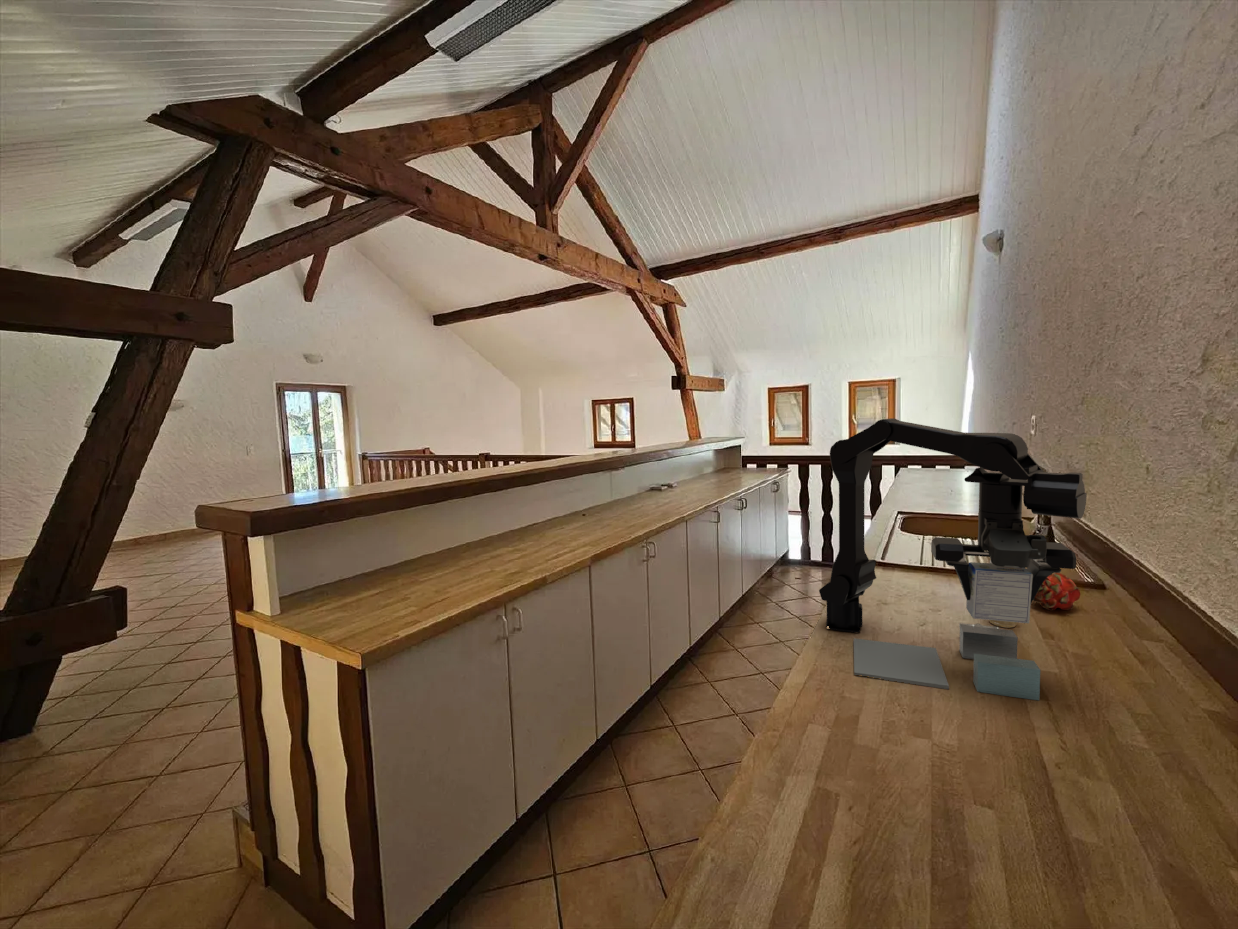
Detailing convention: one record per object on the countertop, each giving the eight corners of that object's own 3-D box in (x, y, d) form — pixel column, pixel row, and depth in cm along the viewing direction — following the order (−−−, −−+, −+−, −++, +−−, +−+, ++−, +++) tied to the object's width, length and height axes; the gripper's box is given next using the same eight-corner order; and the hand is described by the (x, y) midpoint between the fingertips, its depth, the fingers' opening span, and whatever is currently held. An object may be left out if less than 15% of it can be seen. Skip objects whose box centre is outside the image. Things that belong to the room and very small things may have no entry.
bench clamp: (977, 691, 83) (978, 662, 83) (953, 636, 102) (953, 611, 102) (1039, 700, 80) (1040, 669, 79) (1002, 641, 99) (1002, 616, 99)
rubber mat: (854, 675, 90) (854, 672, 90) (853, 641, 103) (853, 638, 102) (948, 689, 84) (948, 686, 84) (935, 651, 97) (935, 648, 97)
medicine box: (1019, 614, 88) (1022, 564, 87) (1030, 625, 84) (1033, 573, 83) (965, 609, 91) (967, 561, 90) (972, 619, 86) (975, 569, 85)
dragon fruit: (1038, 621, 110) (1055, 614, 117) (1082, 607, 105) (1097, 600, 112) (1012, 584, 114) (1030, 579, 121) (1053, 568, 109) (1070, 564, 116)
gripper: (941, 518, 82) (940, 614, 83) (1093, 523, 74) (1088, 628, 76) (931, 505, 92) (930, 590, 93) (1064, 508, 84) (1060, 601, 86)
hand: (997, 601), depth 87 cm, fingers closed on medicine box, 8 cm apart
